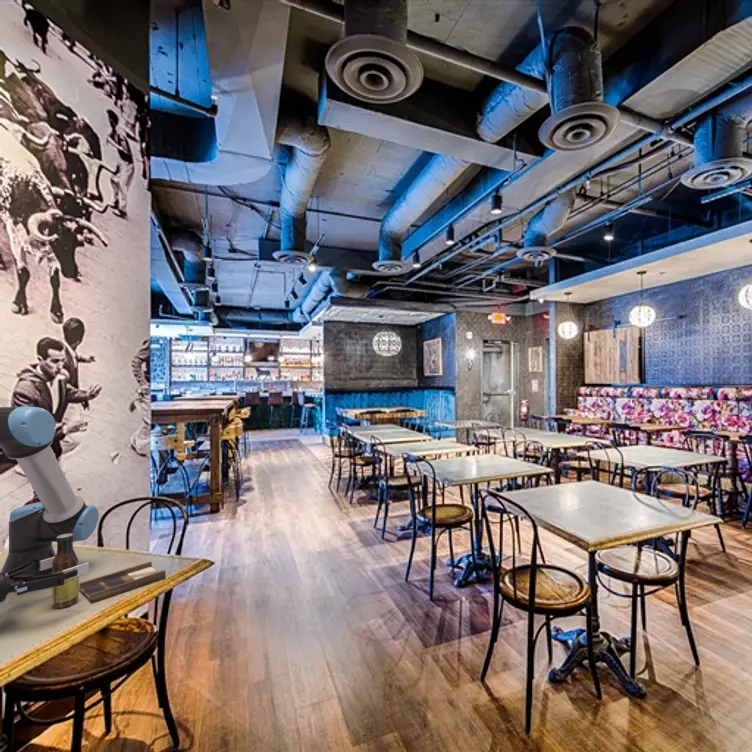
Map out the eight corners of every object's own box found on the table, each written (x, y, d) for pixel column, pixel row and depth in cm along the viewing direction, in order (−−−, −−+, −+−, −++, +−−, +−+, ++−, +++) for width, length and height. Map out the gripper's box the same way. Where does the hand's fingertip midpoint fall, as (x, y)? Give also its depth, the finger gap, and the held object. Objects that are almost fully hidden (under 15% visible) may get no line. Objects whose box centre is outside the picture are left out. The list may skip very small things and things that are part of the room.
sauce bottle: (83, 600, 123) (85, 532, 124) (62, 610, 117) (64, 540, 118) (67, 597, 125) (68, 531, 126) (45, 607, 119) (47, 538, 120)
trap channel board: (79, 591, 129) (79, 583, 129) (150, 568, 145) (150, 561, 145) (91, 603, 121) (91, 595, 121) (165, 578, 137) (165, 570, 137)
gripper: (-36, 595, 112) (56, 566, 130) (2, 620, 99) (98, 584, 118) (-35, 567, 112) (56, 542, 130) (3, 589, 100) (98, 558, 118)
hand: (76, 562), depth 124 cm, fingers open, 13 cm apart
